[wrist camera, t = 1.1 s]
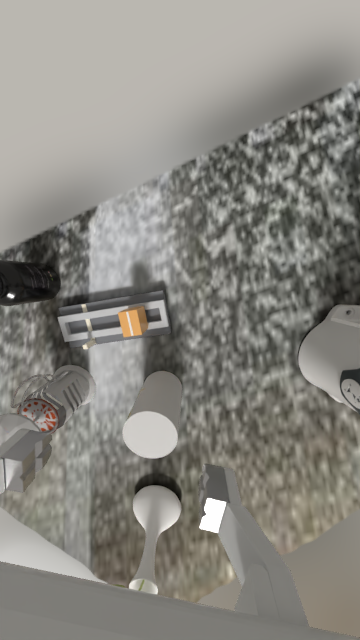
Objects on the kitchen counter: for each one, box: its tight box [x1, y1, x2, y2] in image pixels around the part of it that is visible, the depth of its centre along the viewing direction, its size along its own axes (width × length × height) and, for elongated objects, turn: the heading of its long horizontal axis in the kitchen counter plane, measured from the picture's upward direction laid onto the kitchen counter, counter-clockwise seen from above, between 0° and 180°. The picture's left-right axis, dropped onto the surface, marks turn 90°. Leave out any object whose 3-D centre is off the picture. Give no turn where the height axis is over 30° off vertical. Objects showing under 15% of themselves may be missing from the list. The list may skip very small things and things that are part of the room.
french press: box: [0, 365, 96, 446], centre depth 28 cm, size 10×12×25 cm
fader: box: [118, 306, 148, 337], centre depth 32 cm, size 3×4×6 cm
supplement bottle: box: [0, 260, 60, 306], centre depth 30 cm, size 7×7×12 cm
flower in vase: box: [114, 485, 181, 595], centre depth 33 cm, size 13×11×25 cm
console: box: [57, 290, 171, 349], centre depth 34 cm, size 20×8×5 cm, turn 100°
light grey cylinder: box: [123, 371, 182, 458], centre depth 33 cm, size 8×8×12 cm
